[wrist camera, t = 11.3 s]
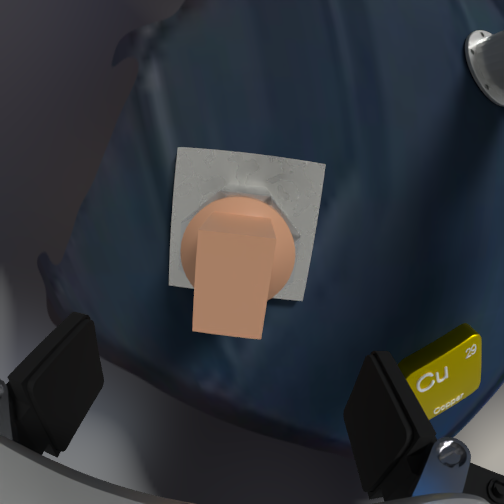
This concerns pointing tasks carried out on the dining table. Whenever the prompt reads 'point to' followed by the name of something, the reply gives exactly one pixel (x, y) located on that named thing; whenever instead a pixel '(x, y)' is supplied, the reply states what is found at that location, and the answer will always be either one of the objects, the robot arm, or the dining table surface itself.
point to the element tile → (445, 370)
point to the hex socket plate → (252, 185)
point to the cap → (236, 264)
